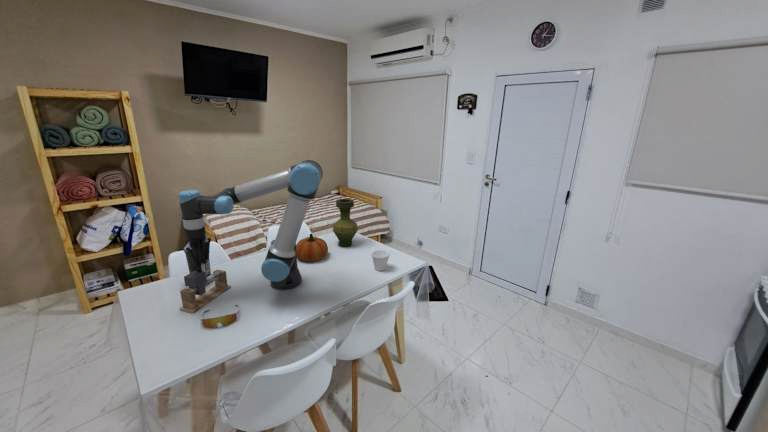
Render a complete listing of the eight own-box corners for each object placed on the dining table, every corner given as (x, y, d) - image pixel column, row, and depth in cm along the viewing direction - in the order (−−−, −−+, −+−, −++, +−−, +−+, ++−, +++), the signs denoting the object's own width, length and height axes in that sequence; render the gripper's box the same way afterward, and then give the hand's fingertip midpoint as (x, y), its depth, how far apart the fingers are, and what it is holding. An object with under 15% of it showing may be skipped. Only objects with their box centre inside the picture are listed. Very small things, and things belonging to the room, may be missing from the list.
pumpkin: (313, 248, 199) (312, 225, 194) (334, 256, 188) (334, 232, 183) (288, 258, 184) (286, 234, 179) (310, 267, 173) (309, 242, 168)
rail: (218, 285, 152) (216, 268, 149) (231, 287, 150) (228, 270, 148) (180, 310, 132) (176, 291, 129) (193, 313, 130) (190, 294, 127)
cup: (368, 270, 171) (368, 255, 168) (375, 263, 180) (375, 248, 177) (385, 274, 167) (385, 258, 165) (391, 266, 176) (392, 251, 173)
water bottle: (203, 289, 148) (196, 244, 141) (185, 286, 150) (176, 242, 143) (218, 279, 158) (212, 237, 151) (200, 276, 160) (193, 234, 153)
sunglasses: (198, 332, 119) (197, 320, 118) (204, 315, 133) (203, 304, 132) (239, 324, 124) (238, 313, 124) (240, 308, 138) (239, 298, 137)
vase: (329, 248, 198) (328, 203, 189) (337, 239, 214) (336, 197, 205) (354, 250, 196) (354, 205, 187) (360, 241, 211) (360, 198, 202)
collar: (198, 288, 139) (195, 270, 136) (208, 290, 138) (205, 272, 135) (187, 295, 134) (183, 276, 131) (197, 297, 132) (194, 278, 130)
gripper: (199, 221, 137) (207, 269, 144) (173, 231, 125) (183, 283, 132) (213, 223, 135) (220, 271, 143) (188, 233, 123) (197, 285, 131)
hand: (202, 277), depth 137 cm, fingers closed
